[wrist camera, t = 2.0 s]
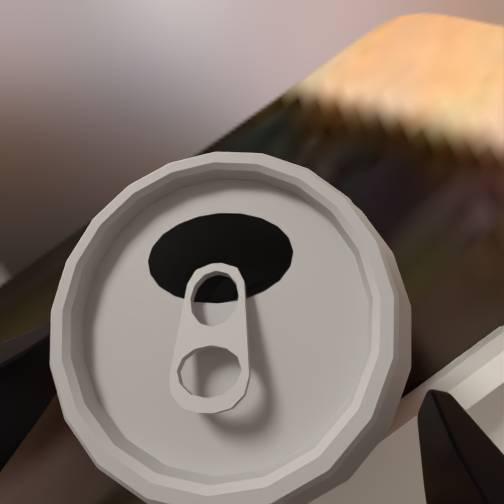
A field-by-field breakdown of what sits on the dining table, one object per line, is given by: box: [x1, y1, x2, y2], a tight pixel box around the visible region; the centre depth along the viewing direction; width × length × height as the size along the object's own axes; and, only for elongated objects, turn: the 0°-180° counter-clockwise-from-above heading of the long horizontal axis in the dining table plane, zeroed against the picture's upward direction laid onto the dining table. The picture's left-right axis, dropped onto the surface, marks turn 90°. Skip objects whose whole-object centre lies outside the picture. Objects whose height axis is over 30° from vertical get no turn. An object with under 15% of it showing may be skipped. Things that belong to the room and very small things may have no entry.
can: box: [50, 152, 411, 504], centre depth 11 cm, size 8×8×12 cm
